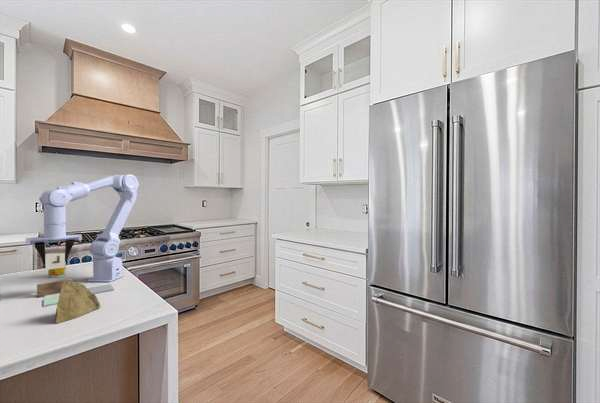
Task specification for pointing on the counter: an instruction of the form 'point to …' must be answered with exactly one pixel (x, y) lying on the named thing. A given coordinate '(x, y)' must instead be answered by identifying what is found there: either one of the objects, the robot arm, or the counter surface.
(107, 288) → the grey mat
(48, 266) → the lettered cube
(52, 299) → the green mat
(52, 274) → the supplement bottle
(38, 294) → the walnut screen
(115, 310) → the counter surface
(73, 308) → the rock
